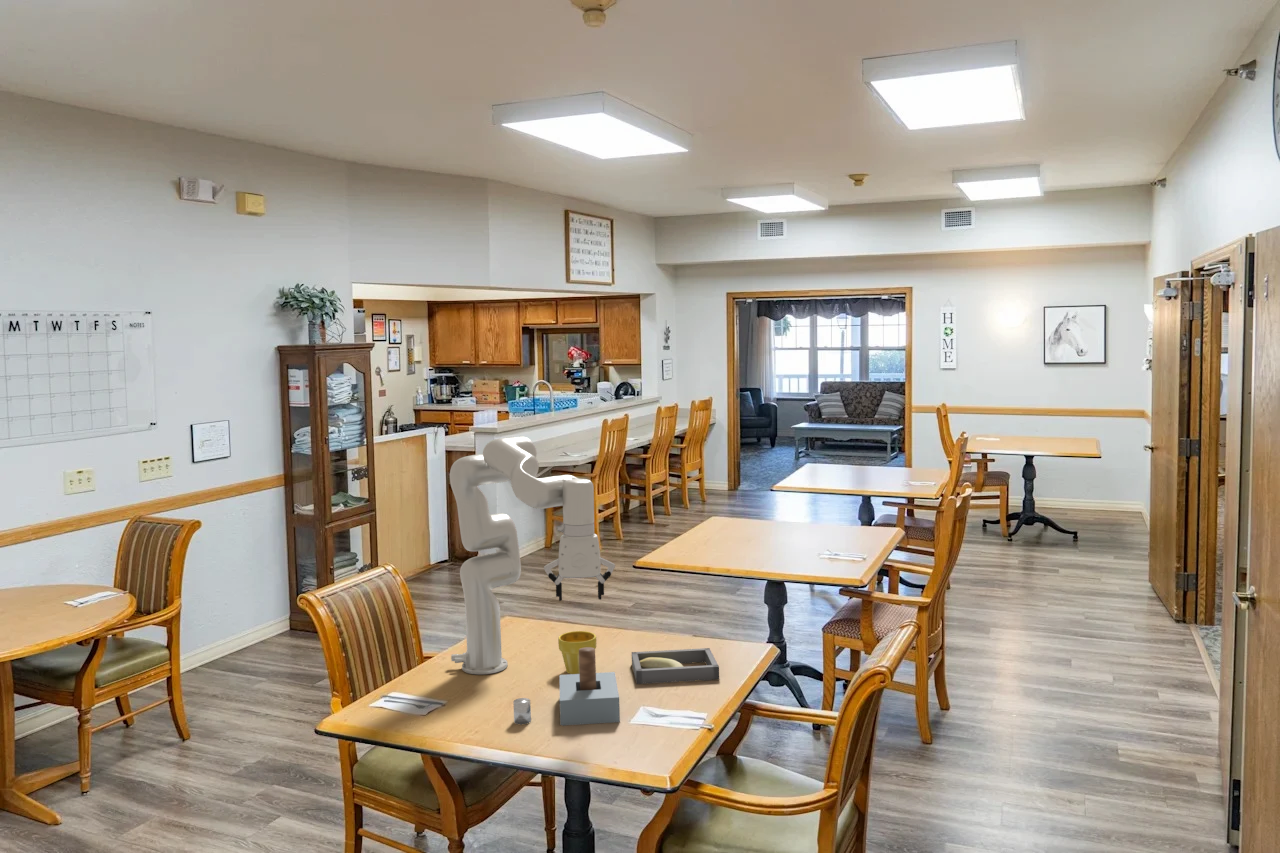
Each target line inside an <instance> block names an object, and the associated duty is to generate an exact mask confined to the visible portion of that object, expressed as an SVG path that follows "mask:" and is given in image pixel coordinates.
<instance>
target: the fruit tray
mask: <svg viewBox="0 0 1280 853" xmlns="http://www.w3.org/2000/svg"><path fill="white" fill-rule="evenodd" d="M649 657H658V658H667V659H672V660H675V661H677V662H679V663H682V664H693V663H692V662H700V663H705V662H706V663H705V664H707V665H693V666H691V665H687V666H683V667H668V668H650V669H645V668H642V667H641V666H640V662H639V661H640V660H643V659H645V658H649ZM631 667H632V670H633V671H632V672H633V674H634V680H635V683H636V685H646V684H647V683H648V684H665V683H664V682H666V683H680V682H679V681H684V682H696V681H695V680H702V681H716V680H715V679H719V680H720V666H719V664H718V662H717V660H716V658H715V656H714V654H713V653H712V650H711V648H710V647H707V648H705V647H704V648H684V649H668V650H650V651H631ZM712 679H713V680H712ZM648 684H647V685H648Z"/></svg>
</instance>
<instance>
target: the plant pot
mask: <svg viewBox="0 0 1280 853" xmlns="http://www.w3.org/2000/svg"><path fill="white" fill-rule="evenodd" d="M584 647H591V648H594V649H595V650H596V649H597V635H596V634H595V633H594V632H591V631H586V630H573V631H567V632H565V633H562V634H560V635H559V636H558V649H559V651H560V653H561V655H562V656H561V657H562V659H563V664H564V668H565V671H566V673H567V674H579V649H581V648H584Z"/></svg>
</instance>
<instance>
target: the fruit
mask: <svg viewBox="0 0 1280 853" xmlns="http://www.w3.org/2000/svg"><path fill="white" fill-rule="evenodd" d="M639 662H640V666H641V669H650V668H668V667H684V665H683V663H682V664H681V663H679V662H677V661H675V660H672V659H667V658H658V657H649V658H645V659H643V660H640V661H639Z"/></svg>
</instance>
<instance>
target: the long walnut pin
mask: <svg viewBox="0 0 1280 853" xmlns="http://www.w3.org/2000/svg"><path fill="white" fill-rule="evenodd" d="M596 664H597V662H596V649H594V648H591V647H584V648H581V649H579V675H580V691H581V690H596V673H597V672H596V671H597V669H596V668H597V667H596V666H597V665H596Z"/></svg>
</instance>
